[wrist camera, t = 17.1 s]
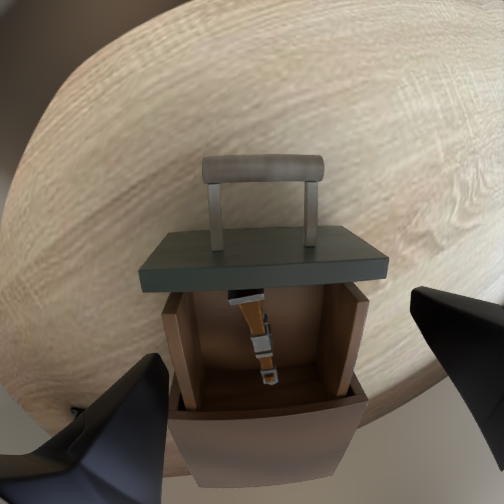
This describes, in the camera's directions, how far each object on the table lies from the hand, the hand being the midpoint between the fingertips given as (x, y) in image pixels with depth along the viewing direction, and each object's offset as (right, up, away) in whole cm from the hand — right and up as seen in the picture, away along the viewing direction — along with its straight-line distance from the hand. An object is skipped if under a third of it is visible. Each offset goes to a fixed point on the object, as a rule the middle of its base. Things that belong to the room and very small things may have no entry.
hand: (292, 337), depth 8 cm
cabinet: (-1, -11, +17) cm, 20 cm away
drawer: (-1, +1, +12) cm, 12 cm away
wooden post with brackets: (-1, 0, +9) cm, 9 cm away
